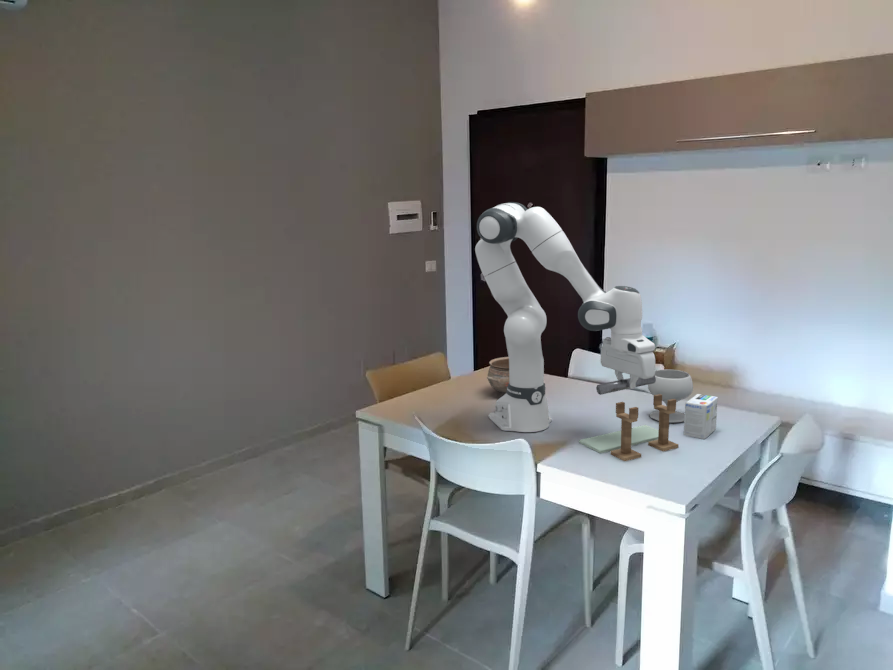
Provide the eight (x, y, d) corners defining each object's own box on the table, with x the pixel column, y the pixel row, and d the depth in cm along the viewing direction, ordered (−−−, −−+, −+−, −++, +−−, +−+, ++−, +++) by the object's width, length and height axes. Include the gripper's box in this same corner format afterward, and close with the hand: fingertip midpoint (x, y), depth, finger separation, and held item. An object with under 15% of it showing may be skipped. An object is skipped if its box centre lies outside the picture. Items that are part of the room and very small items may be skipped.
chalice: (697, 424, 210) (699, 379, 207) (652, 425, 211) (654, 380, 208) (684, 410, 224) (686, 368, 221) (642, 411, 225) (644, 368, 222)
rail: (602, 396, 191) (603, 386, 190) (596, 392, 193) (596, 383, 193) (655, 384, 199) (656, 375, 198) (648, 381, 202) (649, 372, 201)
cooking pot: (518, 382, 265) (518, 352, 263) (553, 391, 251) (553, 360, 248) (471, 395, 250) (470, 363, 247) (506, 405, 235) (505, 372, 233)
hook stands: (609, 454, 189) (610, 404, 186) (662, 441, 197) (664, 393, 194) (625, 461, 183) (626, 410, 180) (679, 448, 192) (681, 398, 189)
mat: (579, 442, 198) (579, 440, 198) (645, 427, 210) (645, 424, 209) (600, 453, 190) (600, 450, 189) (668, 436, 201) (668, 434, 201)
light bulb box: (695, 425, 210) (696, 393, 208) (716, 429, 206) (718, 396, 203) (682, 435, 202) (684, 401, 199) (705, 439, 197) (707, 405, 195)
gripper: (595, 337, 201) (595, 380, 204) (642, 348, 183) (642, 396, 186) (611, 334, 204) (611, 377, 207) (659, 345, 186) (659, 392, 188)
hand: (626, 386), depth 196 cm, fingers closed on rail, 3 cm apart
